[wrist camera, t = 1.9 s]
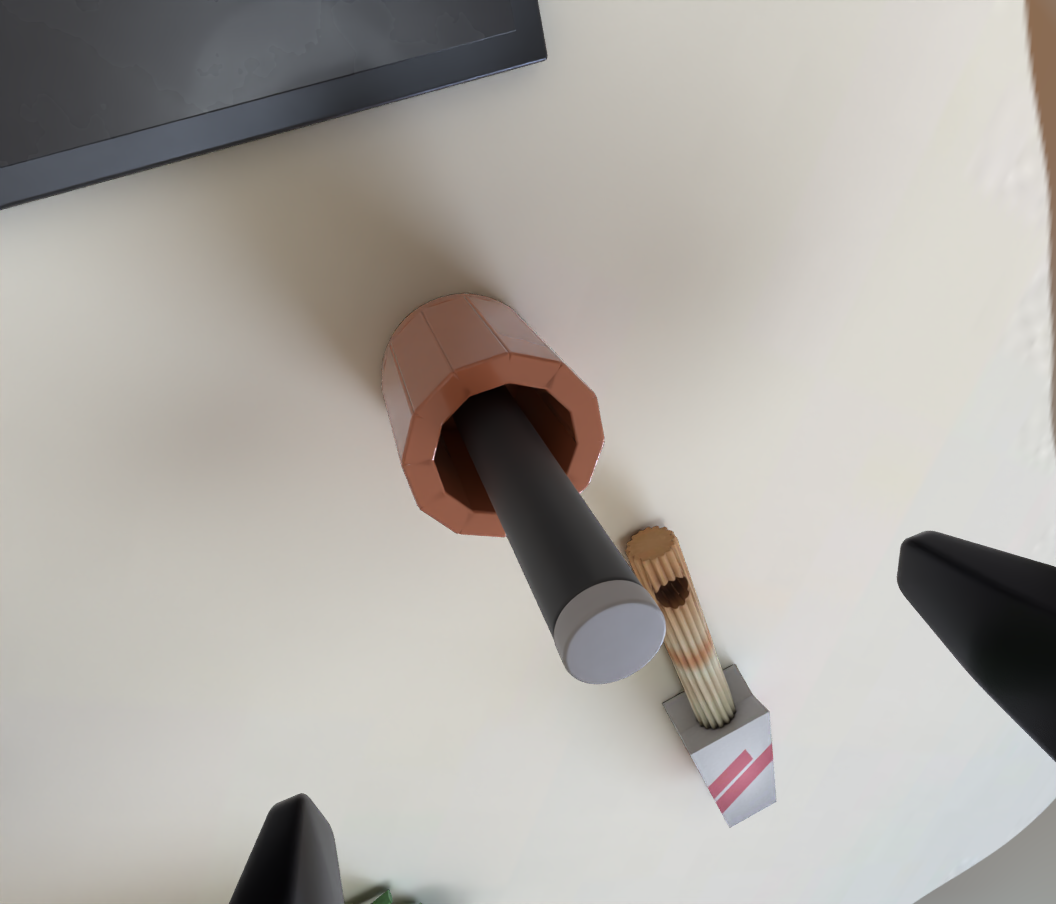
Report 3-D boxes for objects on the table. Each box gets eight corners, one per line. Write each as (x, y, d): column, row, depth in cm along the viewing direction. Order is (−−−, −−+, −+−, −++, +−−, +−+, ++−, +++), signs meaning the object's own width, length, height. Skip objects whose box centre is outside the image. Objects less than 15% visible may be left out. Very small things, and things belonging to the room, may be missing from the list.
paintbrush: (735, 861, 32) (620, 589, 21) (707, 810, 34) (591, 544, 24) (803, 824, 32) (720, 537, 22) (770, 776, 34) (682, 497, 24)
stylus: (446, 412, 18) (574, 700, 10) (429, 361, 18) (553, 628, 9) (499, 394, 19) (672, 659, 10) (485, 343, 18) (660, 584, 9)
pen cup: (411, 463, 19) (440, 564, 15) (356, 323, 17) (373, 397, 13) (551, 413, 20) (616, 497, 16) (518, 271, 18) (584, 326, 13)
